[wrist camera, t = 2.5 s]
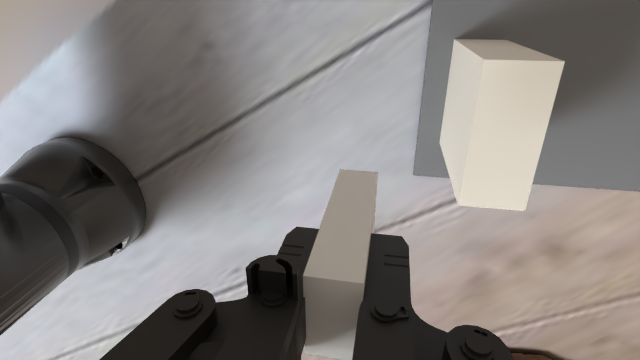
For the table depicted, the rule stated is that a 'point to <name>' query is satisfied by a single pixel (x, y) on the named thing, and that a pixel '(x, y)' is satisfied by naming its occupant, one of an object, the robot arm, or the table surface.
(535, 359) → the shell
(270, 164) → the table surface
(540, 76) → the tall block
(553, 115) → the mat
